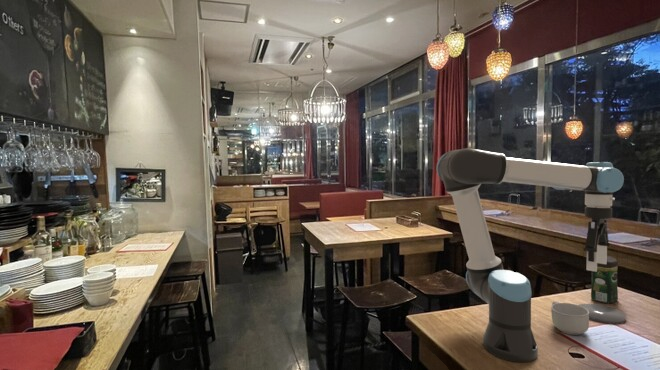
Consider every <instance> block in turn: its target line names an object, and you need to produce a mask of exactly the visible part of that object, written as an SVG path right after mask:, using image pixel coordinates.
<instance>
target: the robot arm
mask: <svg viewBox="0 0 660 370" xmlns="http://www.w3.org/2000/svg"><path fill="white" fill-rule="evenodd" d="M436 173H437V176H438V177H439V179H440V180H441V181H442V182H443V184H444V185H443V186H444V188H445V192H446V193H447V194H448V195H451V197H452V200H453V205H454V208H455V213H456V216H457V219H458V222H459V227H460V230H461V231H460V232H461V235H462V238H463V242H464V244H465V245H464V247H465V249H466V250H465V251H466V254H467V256H468V261H467V262H466V264H465V266H466V270H467V271H466V273H465V280H466V284H467V286H468V287H469V289H470V290H471V291H472V293H473V294H475V295H476V296H478V297H479V298H480V299H482V301H484V302H485V303H486V304H487V305H488V323H487V324H486V325H487V326H486V329H485V331H484V335H483V337H482V346H483V348H484V349H485V350H486V352H488V353H490V354H491V355H492V356H495V357H497V358H499V359H502V360H506V361H510V362H516V363H517V362H518V363H527V362H532V361H534V360H536V359H537V358H538V349H539V347H538V344H537V341H536V339H535V336H534V334H533V331H532V330H533V329H532V292H533V291H532V287H531V286H532V285H531V282H530V280H529V279H528V278H527V277H526V276H525V275H523V274H521V273H520V272H517V271H516V272H514V271H513V270H508V269H504V265H503V262H502V259H501V258H500V257H498V256H496V255H495V251H494V247H493V244H492V238H491V234H490V232H489V231H490V230H489V228H488V224H487V219H486V216H485V213H484V210H483V206H482V201H481V197H480V194H479V190H478V189H479V188H480V187H481V185H482V184H486V185H487V184H493V185H500V184H501V183H512V184H521V185H534V186H541V187H549V188H553V189H554V190H559V191H561V190H562V191H570V190H572V191H582V192H584V205H585V207H584V217H585V218H587V219H591V221H588V222H587V226H588V227H587V233H586V241H585V246H584V248H583V251H585V252H586V269H585V270H586V271H590V272H592V271H595V272H597V263H600V264H607V256H608V247H610V246H611V243H610V242H609V234H608V233H609V232H608V220H610V219H612V218H613V208H612V207H613V201H615V199H616V198H615V197H613V194H614V193H615V192H617V191H620V190H621V188H622V187H623V185H624V182H625V181H624V180H625V178H624V174H623V172H622V171H621V170H620V169H618V168H615V167H614V165H613V163H612V162H610V161H609V162H608V161H601V162H600V161H597V162H594V161H593V162H587V163H586V164H585V165H579V164H571V163H561V162H552V161H543V160H535V159H525V158H515V157H507V156H506V155H505V154H504V153H501V152H495V151H494V152H493V151H488V150H481V149H478V148H477V149H476V148H471V147H467V148H461V149H453V150H450V151H448V152H445V153H444V154H442V155H441V156H440V157H439V159H438V162H437V163H436Z"/></svg>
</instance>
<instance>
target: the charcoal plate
mask: <svg viewBox="0 0 660 370" xmlns="http://www.w3.org/2000/svg"><path fill="white" fill-rule="evenodd" d="M578 305H579V306H582V307H584V308H586V309H587V310H588V311H589V320H592V321H595V322H599V323H606V324H614V325H615V324H623V323H625V322H626V320H627V315H626V313H624V312H623V311H622V310H619V309H616V308H614V307H611V306H607V305H602V304H597V303H596V304H595V303H580V304H578Z"/></svg>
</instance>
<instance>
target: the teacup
mask: <svg viewBox="0 0 660 370" xmlns="http://www.w3.org/2000/svg"><path fill="white" fill-rule="evenodd" d="M579 305H580V304H574V303H571V302H568V303H567V302H559V301H556V300H555V301H552V303H551V305H550V310H551V320H552V324H553V325H554V327H555V328H557V329H558V330H559V331H560V332H562V333H564V334H567V335H570V336H579V335H582V334H584V333H586V332H587V331H588V330H589V326H590V319H589V311H588V310H587V309H586V308H584V307H582V306H579Z"/></svg>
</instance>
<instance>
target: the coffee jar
mask: <svg viewBox="0 0 660 370" xmlns="http://www.w3.org/2000/svg"><path fill="white" fill-rule="evenodd" d="M618 265H619V263H618V259H616V258H615V257H614V256H609V255H607V264H600V263H597V272H595V271H591V289H590V298H591V299H592V300H594V301H596V302H597V303H602V304H613V303H615V302H617V301H618V299H619V291H618V267H619V266H618Z"/></svg>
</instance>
